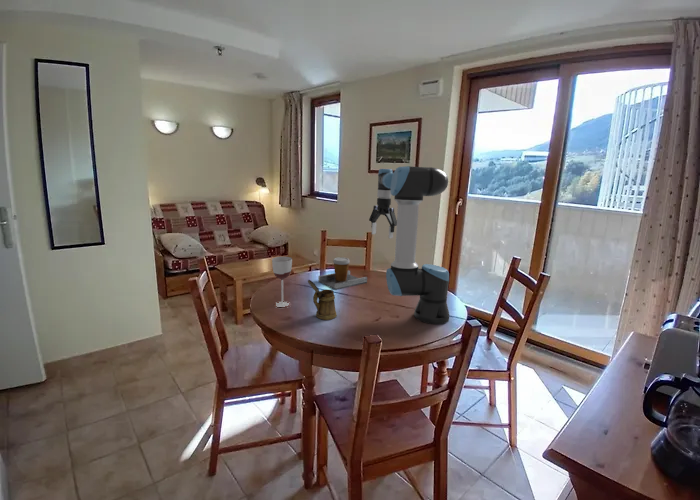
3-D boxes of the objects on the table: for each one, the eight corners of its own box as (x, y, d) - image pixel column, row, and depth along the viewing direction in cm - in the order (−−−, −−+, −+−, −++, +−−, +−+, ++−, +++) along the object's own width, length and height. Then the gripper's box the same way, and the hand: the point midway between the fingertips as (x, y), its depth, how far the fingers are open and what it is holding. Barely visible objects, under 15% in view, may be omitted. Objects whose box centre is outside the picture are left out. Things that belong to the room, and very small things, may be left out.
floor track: (348, 275, 218) (349, 270, 217) (366, 282, 205) (367, 277, 205) (318, 281, 204) (318, 276, 203) (335, 289, 192) (335, 284, 191)
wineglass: (269, 307, 166) (268, 260, 161) (278, 300, 175) (277, 255, 170) (287, 309, 164) (286, 262, 159) (295, 302, 173) (295, 257, 168)
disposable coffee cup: (347, 282, 202) (347, 261, 199) (330, 280, 204) (331, 260, 201) (351, 277, 211) (351, 257, 208) (335, 276, 213) (335, 256, 210)
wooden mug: (303, 316, 157) (303, 276, 153) (329, 310, 164) (330, 272, 160) (312, 324, 150) (313, 282, 146) (340, 317, 157) (341, 277, 153)
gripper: (405, 199, 190) (403, 239, 195) (373, 195, 209) (372, 231, 214) (395, 200, 186) (393, 240, 190) (364, 196, 205) (362, 233, 209)
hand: (382, 236), depth 202 cm, fingers open, 13 cm apart
